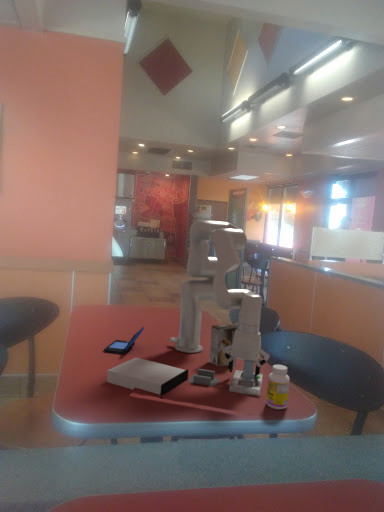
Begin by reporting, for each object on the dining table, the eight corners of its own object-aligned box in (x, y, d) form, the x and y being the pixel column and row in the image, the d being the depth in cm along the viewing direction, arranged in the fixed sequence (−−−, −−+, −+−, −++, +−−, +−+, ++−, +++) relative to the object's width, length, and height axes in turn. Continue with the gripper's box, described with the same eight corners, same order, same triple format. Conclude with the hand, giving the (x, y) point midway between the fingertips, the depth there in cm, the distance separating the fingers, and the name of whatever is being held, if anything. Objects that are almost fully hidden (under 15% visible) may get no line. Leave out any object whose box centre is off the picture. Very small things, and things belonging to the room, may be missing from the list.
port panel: (228, 393, 141) (229, 384, 141) (235, 377, 157) (236, 368, 156) (258, 398, 139) (259, 388, 139) (262, 382, 154) (262, 373, 154)
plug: (241, 384, 150) (244, 358, 150) (242, 381, 154) (245, 355, 153) (252, 386, 150) (254, 360, 149) (252, 382, 153) (254, 357, 152)
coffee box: (227, 361, 175) (230, 324, 174) (235, 366, 169) (239, 327, 168) (208, 363, 171) (211, 325, 169) (216, 368, 165) (219, 329, 164)
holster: (187, 384, 147) (188, 374, 146) (192, 376, 154) (193, 367, 154) (215, 389, 144) (216, 379, 144) (219, 381, 152) (220, 371, 152)
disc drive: (162, 400, 133) (163, 385, 133) (106, 383, 144) (107, 369, 143) (187, 383, 149) (188, 369, 149) (135, 369, 159) (136, 356, 159)
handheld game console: (115, 342, 191) (116, 322, 190) (143, 346, 189) (145, 326, 188) (102, 352, 175) (104, 331, 175) (133, 356, 173) (134, 334, 173)
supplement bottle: (263, 400, 138) (267, 362, 137) (283, 401, 138) (286, 363, 137) (269, 409, 131) (272, 370, 130) (289, 410, 132) (293, 370, 131)
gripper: (222, 326, 149) (218, 372, 151) (271, 334, 144) (266, 382, 146) (226, 321, 156) (222, 366, 158) (273, 328, 152) (268, 374, 153)
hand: (243, 373), depth 152 cm, fingers open, 8 cm apart
